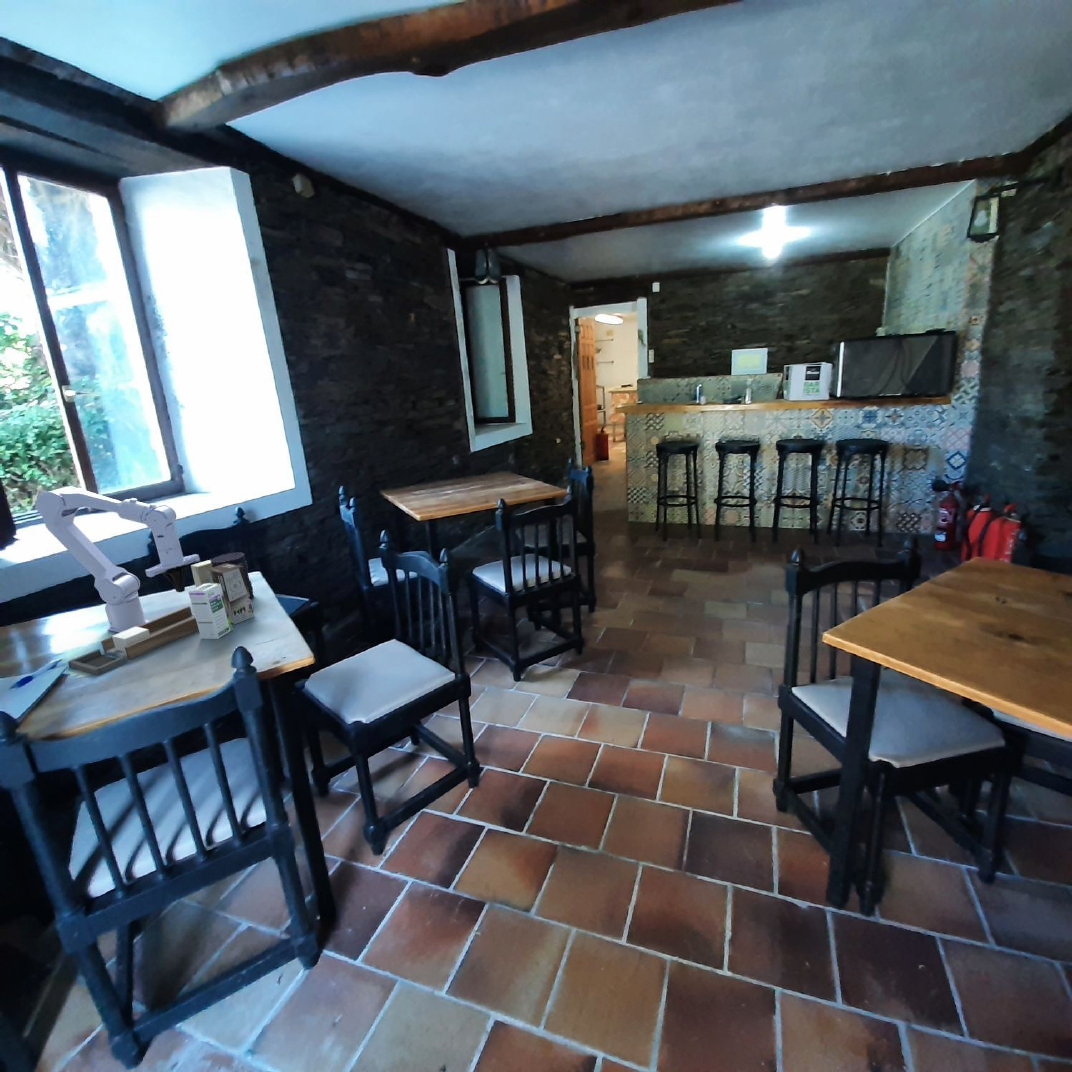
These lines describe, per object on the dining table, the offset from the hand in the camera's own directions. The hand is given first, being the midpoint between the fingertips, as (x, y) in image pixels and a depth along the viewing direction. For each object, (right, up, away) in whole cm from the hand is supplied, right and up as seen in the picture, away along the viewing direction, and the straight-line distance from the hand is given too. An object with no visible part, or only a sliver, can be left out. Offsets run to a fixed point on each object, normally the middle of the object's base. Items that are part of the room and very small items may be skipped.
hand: (180, 591), depth 164 cm
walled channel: (0, -12, -8) cm, 14 cm away
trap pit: (-7, -17, -22) cm, 28 cm away
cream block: (-3, -13, -14) cm, 20 cm away
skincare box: (-3, -4, +20) cm, 21 cm away
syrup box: (+16, -11, -9) cm, 22 cm away
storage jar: (+8, -5, +16) cm, 19 cm away
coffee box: (+16, -8, +2) cm, 18 cm away
